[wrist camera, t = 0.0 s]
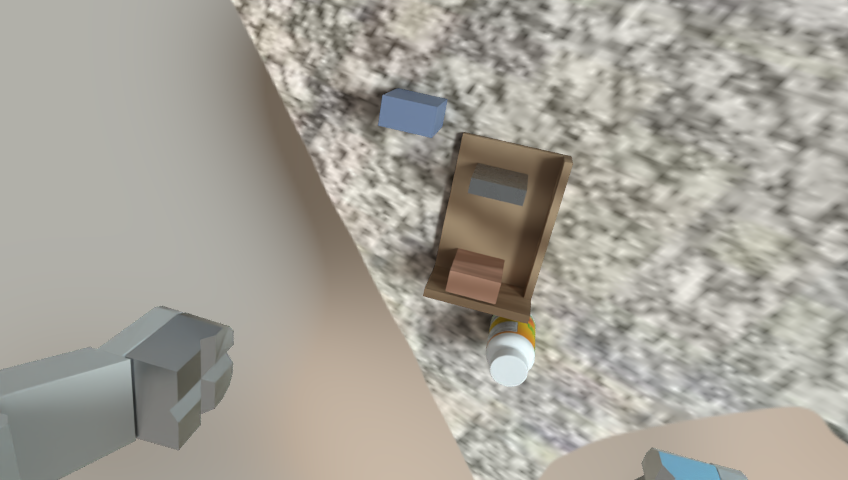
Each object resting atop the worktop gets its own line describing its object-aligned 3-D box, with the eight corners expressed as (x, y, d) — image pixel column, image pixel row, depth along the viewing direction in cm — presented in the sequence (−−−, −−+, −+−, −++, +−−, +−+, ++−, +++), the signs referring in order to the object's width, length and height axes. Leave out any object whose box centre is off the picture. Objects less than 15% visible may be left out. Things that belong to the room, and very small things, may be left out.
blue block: (397, 88, 56) (382, 94, 50) (447, 99, 55) (437, 107, 50) (393, 115, 57) (378, 125, 51) (442, 126, 56) (431, 137, 51)
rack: (464, 132, 56) (454, 145, 50) (571, 156, 55) (575, 173, 48) (434, 269, 63) (423, 296, 57) (529, 294, 62) (527, 323, 55)
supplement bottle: (539, 340, 64) (538, 390, 55) (495, 344, 65) (488, 394, 56) (531, 301, 62) (529, 347, 53) (486, 306, 63) (478, 352, 55)
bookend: (477, 162, 56) (471, 177, 50) (528, 174, 55) (526, 191, 50) (474, 176, 57) (467, 193, 51) (524, 188, 56) (522, 206, 50)
